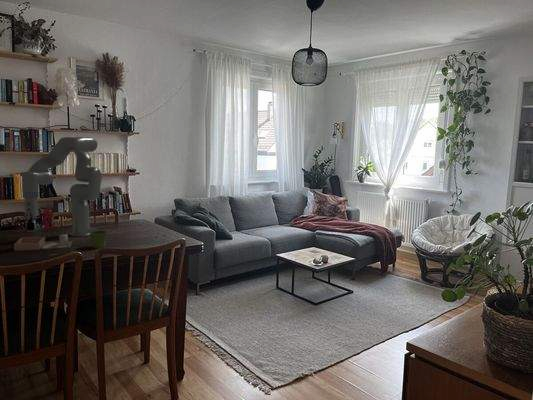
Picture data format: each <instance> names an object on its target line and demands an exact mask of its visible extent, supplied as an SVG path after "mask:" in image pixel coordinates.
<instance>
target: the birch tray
mask: <svg viewBox="0 0 533 400" xmlns="http://www.w3.org/2000/svg"><path fill="white" fill-rule="evenodd" d="M72 243H73V240H68V245H67V246H60V240H59V241H45V243H44V245H43V246H42V247H41V249H40V250H50V249H51V250H52V249H70V248H71V245H72Z"/></svg>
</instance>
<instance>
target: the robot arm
mask: <svg viewBox="0 0 533 400" xmlns="http://www.w3.org/2000/svg"><path fill="white" fill-rule="evenodd" d="M97 148H98V142H97V140H96V139H95V138H94V137H88V136H87V137H83V136H73V137H72V136H71V137H69V136H64V137H61V138H59V139H58V141H57V142H56V143H55V145H54V146H53V148H52V149H51V150H50V152H49V153H48V154H47V155H45V156H43V157H41V158H40V159H38V160H37V161H35V162H34V163H33V164H32V165H31V167H29V169H28V171H23V172H22V173H21V191H22V192H21V193H22V194H21V195H22V198H21V199H24V217H25V218H26V230H34V223H33V220H36V221H37V216H39V214H40V213H39V211H40V210H39V201H38V199H39V198H40V194H39V193H40V189H39V185H40V186H48V185H51V184H52V183H53V182H54V180H55V177H54V174H53V173H52V172H50V171H47V170H49V169H51V168H54V167H58V166H61V165H62V164H63V163H64V162H65V160H66V159H67V158H68V157H69V155H70V154H71V153H74V154H75V157H76V159H75V160H76V162H75V169H74V179H75V180H76V181H77V182H80V183H75V184H73V185H71V187H70V189H69V196H70V199H71V211H72V232H70V236H72V237H87V236H88V237H89V236H90V234H89V232H91V231H98V228H96V227H91V226H90V204H89V202H88V201H95V200H97V199H99V197H100V192H101V185H102V178H103V177H102V176H103V175H102V172H101V170H100V169H99V168H98V167H96V166H92V156H91V154H90V153H92V152H94V151H96V150H97ZM81 182H82V183H81ZM86 183H88V184H86Z"/></svg>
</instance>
